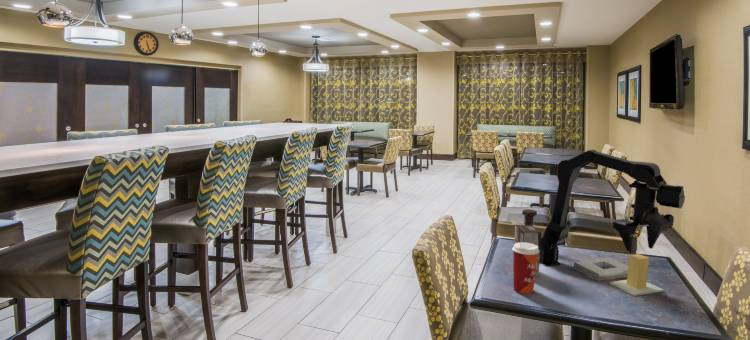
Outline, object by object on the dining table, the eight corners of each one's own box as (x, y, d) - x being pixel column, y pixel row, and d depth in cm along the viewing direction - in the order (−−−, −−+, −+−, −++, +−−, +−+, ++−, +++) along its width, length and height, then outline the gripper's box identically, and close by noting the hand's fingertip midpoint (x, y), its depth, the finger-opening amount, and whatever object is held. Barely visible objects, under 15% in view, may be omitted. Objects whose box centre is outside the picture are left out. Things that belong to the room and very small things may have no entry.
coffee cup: (533, 298, 149) (536, 251, 147) (506, 292, 154) (509, 247, 151) (539, 288, 156) (542, 244, 154) (514, 283, 161) (516, 240, 158)
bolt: (533, 244, 200) (535, 209, 198) (535, 248, 196) (538, 212, 193) (518, 243, 201) (521, 209, 198) (521, 247, 196) (523, 212, 194)
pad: (634, 296, 152) (634, 294, 151) (609, 283, 161) (609, 282, 161) (663, 291, 155) (663, 289, 155) (637, 279, 165) (637, 277, 164)
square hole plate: (598, 281, 163) (598, 274, 163) (573, 268, 174) (573, 261, 174) (635, 275, 168) (635, 268, 168) (608, 263, 179) (609, 257, 179)
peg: (636, 288, 155) (639, 259, 154) (626, 284, 159) (629, 255, 158) (645, 287, 157) (649, 258, 155) (635, 282, 160) (638, 253, 159)
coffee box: (539, 277, 166) (542, 232, 163) (521, 277, 165) (524, 232, 163) (528, 267, 175) (531, 224, 172) (511, 267, 174) (514, 224, 172)
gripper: (642, 211, 143) (637, 261, 146) (689, 206, 149) (683, 254, 151) (613, 202, 153) (609, 249, 156) (658, 198, 159) (653, 244, 162)
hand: (639, 249), depth 156 cm, fingers open, 9 cm apart
